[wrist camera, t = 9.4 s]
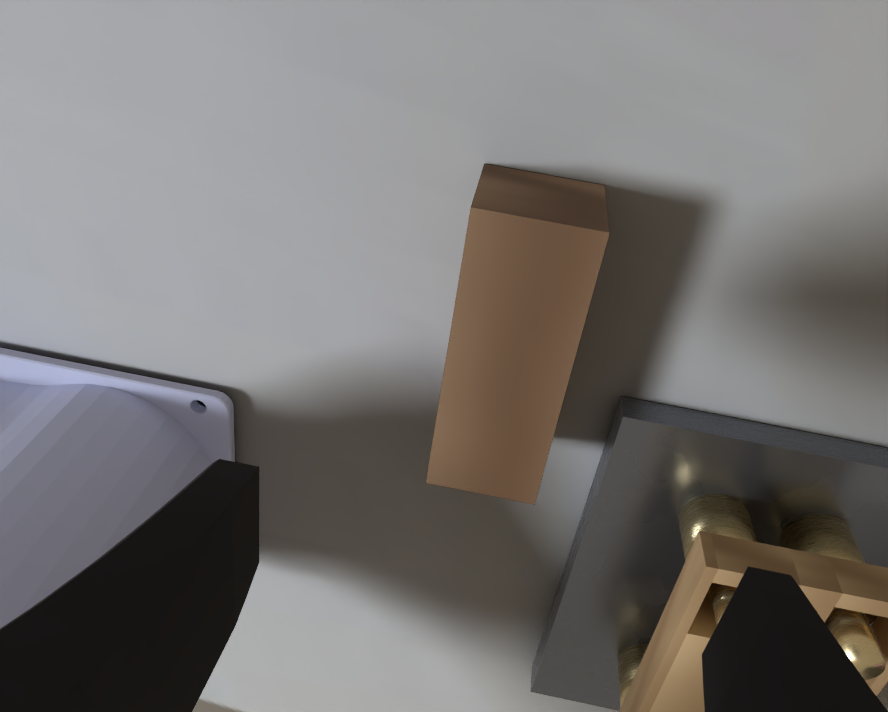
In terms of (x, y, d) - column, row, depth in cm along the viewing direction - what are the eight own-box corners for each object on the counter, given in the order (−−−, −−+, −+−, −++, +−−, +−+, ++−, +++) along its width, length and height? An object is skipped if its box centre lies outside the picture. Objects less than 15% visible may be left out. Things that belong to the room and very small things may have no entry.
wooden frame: (604, 744, 25) (605, 780, 24) (699, 530, 19) (706, 566, 18) (775, 780, 24) (784, 819, 23) (920, 574, 19) (939, 612, 18)
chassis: (531, 667, 29) (524, 811, 24) (621, 395, 22) (634, 528, 17) (794, 723, 28) (836, 881, 24) (973, 464, 21) (1080, 619, 17)
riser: (441, 416, 23) (425, 482, 20) (484, 163, 19) (471, 207, 16) (538, 436, 23) (534, 504, 20) (604, 185, 18) (610, 232, 16)
